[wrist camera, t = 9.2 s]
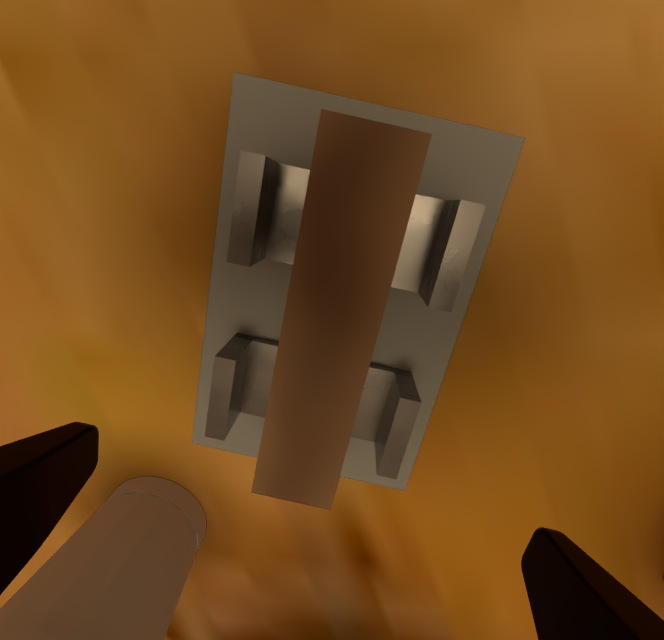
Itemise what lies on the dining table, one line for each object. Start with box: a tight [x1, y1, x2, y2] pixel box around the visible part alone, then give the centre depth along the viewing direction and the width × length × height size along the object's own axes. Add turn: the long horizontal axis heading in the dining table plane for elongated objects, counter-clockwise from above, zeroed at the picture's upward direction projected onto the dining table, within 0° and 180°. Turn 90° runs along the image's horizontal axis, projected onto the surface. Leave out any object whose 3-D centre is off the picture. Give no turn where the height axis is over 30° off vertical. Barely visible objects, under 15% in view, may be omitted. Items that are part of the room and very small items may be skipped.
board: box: [192, 72, 525, 491], centre depth 18 cm, size 12×18×1 cm, turn 168°
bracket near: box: [227, 150, 486, 312], centre depth 15 cm, size 9×4×3 cm, turn 78°
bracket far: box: [205, 333, 421, 479], centre depth 17 cm, size 9×4×3 cm, turn 78°
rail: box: [251, 109, 432, 510], centre depth 15 cm, size 4×15×4 cm, turn 168°
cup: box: [0, 476, 206, 640], centre depth 18 cm, size 8×8×12 cm
